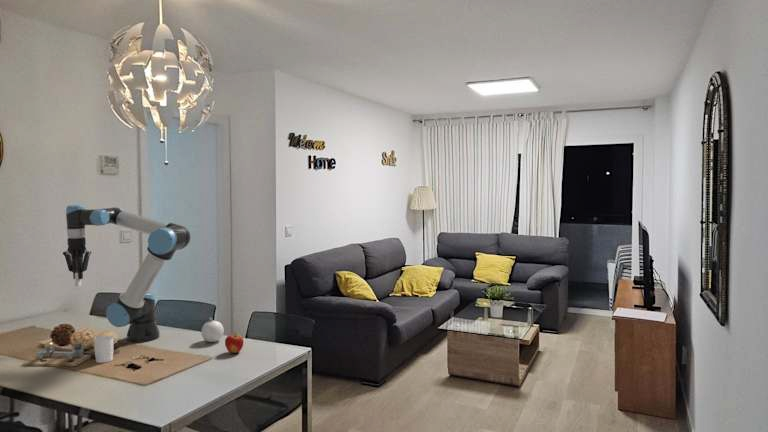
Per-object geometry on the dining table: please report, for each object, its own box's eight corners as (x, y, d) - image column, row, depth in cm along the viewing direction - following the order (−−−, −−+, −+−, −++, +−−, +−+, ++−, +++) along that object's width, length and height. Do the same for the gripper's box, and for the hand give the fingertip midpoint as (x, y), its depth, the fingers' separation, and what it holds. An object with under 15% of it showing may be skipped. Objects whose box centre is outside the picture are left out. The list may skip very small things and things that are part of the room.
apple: (234, 348, 254) (234, 328, 254) (247, 351, 250) (246, 330, 249) (221, 353, 247) (221, 332, 247) (234, 356, 243) (233, 335, 243)
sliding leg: (55, 354, 242) (54, 341, 242) (42, 360, 234) (42, 347, 233) (48, 354, 242) (48, 341, 242) (36, 360, 234) (35, 347, 234)
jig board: (91, 357, 243) (91, 354, 243) (74, 366, 231) (74, 364, 231) (41, 356, 244) (41, 353, 244) (22, 365, 232) (22, 363, 232)
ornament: (197, 343, 262) (197, 319, 261) (209, 337, 272) (208, 314, 271) (216, 345, 259) (216, 321, 258) (227, 339, 269) (227, 315, 268)
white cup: (118, 358, 241) (117, 336, 240) (105, 364, 234) (104, 341, 233) (104, 356, 243) (103, 335, 242) (90, 362, 236) (89, 340, 235)
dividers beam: (84, 355, 242) (83, 342, 241) (72, 362, 233) (71, 349, 233) (40, 354, 243) (40, 342, 242) (27, 361, 234) (27, 348, 234)
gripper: (94, 236, 262) (96, 284, 264) (68, 236, 262) (70, 284, 264) (84, 238, 254) (87, 287, 256) (58, 238, 255) (60, 287, 257)
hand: (78, 285), depth 260 cm, fingers closed
